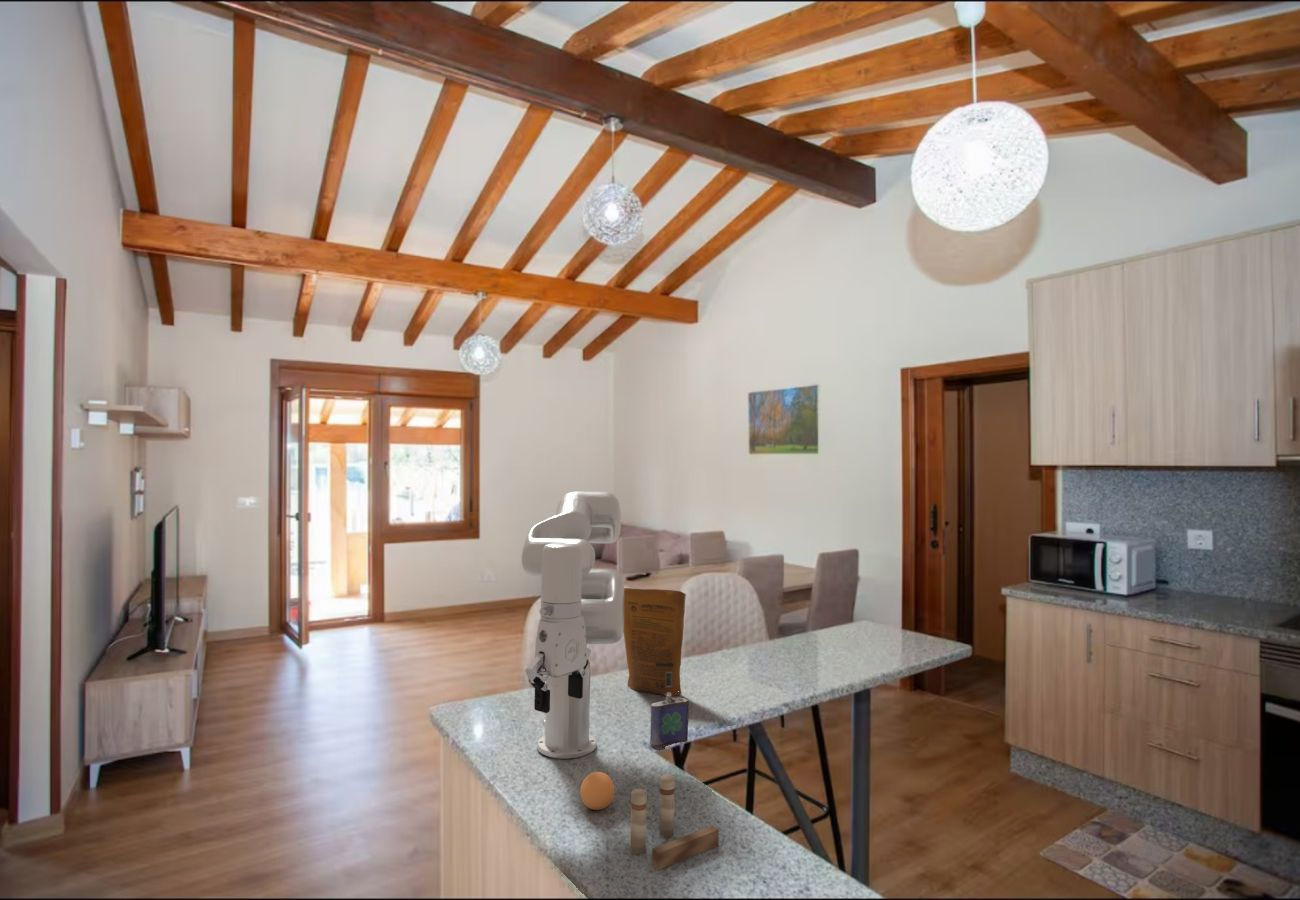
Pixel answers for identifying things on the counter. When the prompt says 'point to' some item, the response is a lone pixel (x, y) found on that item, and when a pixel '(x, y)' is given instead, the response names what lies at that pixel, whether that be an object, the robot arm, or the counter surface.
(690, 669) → the counter surface
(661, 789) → the pin
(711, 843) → the back rail
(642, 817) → the pin side
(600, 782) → the ball
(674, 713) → the flask
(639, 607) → the pancake mix bag
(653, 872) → the counter surface
